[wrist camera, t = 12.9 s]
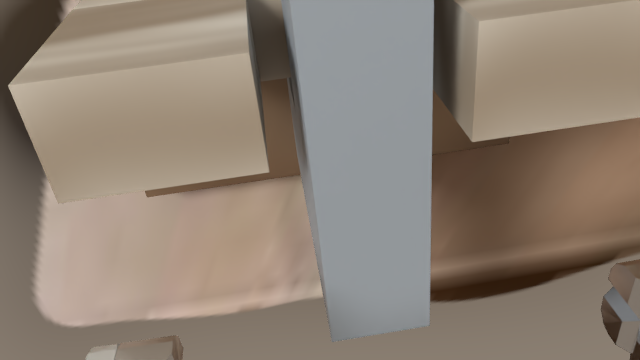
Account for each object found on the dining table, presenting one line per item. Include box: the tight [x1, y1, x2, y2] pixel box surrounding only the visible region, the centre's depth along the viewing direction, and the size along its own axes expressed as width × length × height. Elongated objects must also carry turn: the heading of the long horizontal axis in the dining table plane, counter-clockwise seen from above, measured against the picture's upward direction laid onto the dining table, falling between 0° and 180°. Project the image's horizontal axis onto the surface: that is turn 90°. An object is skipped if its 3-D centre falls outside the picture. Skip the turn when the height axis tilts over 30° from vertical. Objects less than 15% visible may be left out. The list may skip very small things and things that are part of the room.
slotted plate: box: [281, 0, 434, 342], centre depth 14 cm, size 12×2×9 cm, turn 5°
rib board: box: [8, 0, 640, 204], centre depth 15 cm, size 14×14×10 cm
